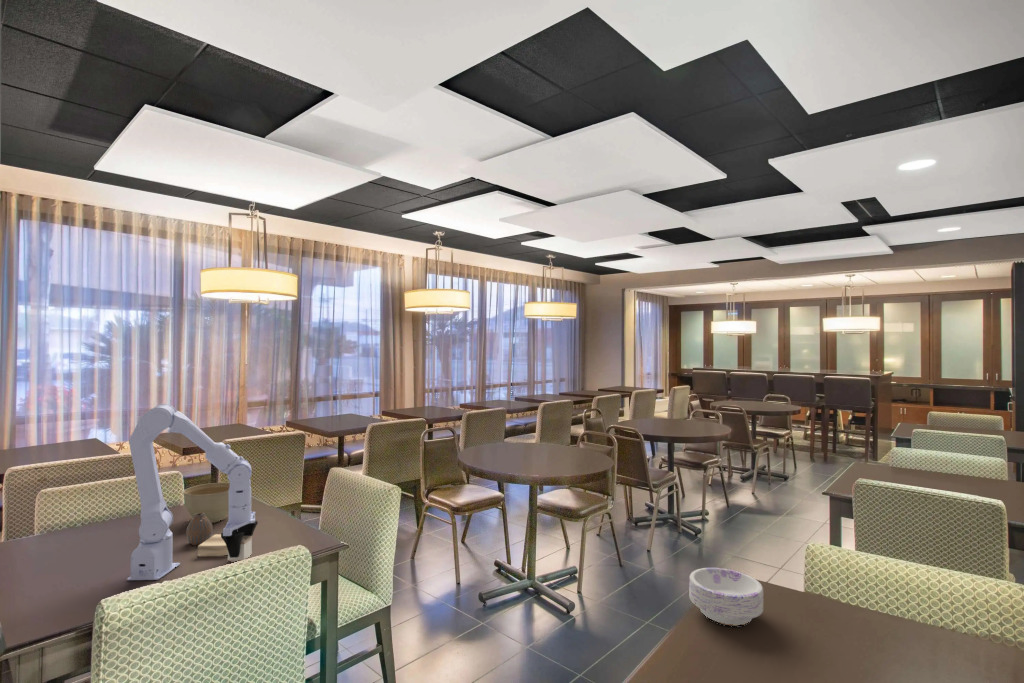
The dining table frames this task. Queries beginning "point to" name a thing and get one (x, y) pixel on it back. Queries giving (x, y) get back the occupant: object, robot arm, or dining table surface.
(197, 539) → the vase
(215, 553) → the block
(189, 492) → the planter bowl
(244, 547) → the framed cream cube
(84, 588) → the dining table surface
